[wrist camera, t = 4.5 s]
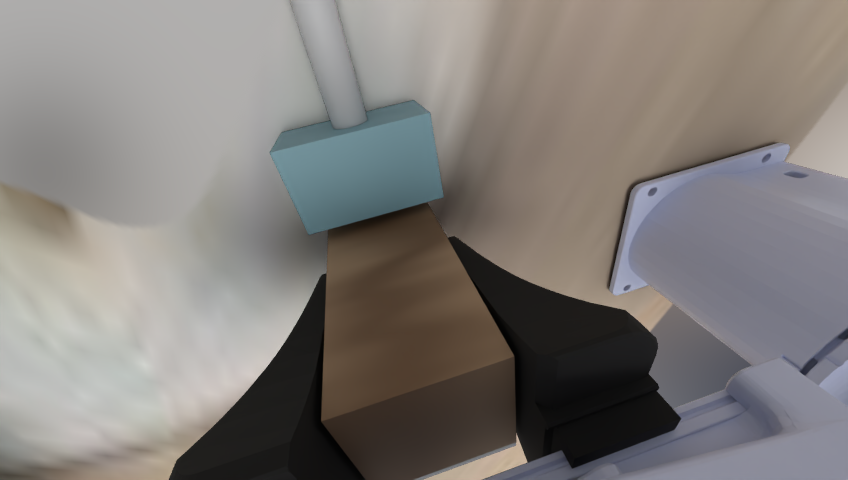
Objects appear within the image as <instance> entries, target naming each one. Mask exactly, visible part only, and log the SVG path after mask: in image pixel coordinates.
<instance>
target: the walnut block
mask: <svg viewBox="0 0 848 480" xmlns="http://www.w3.org/2000/svg"><path fill="white" fill-rule="evenodd" d="M321 422H322V423H323V425H324V426H325V427H326V429H327V430H328V431H329V432H330V434H331V435H332V436H333V438H334V439H335V440H336V442H337V443H338V444H339V445H340V447H341V448H342V449H343V451H344V452H345V453H346V455H347V456H348V457H349V459H350V460H351V461H352V462H353V464H354V465H355V466H356V468H357V469H358V470H359V472H360V473H361V474H362V476H363V477H364V478H365V479H366V480H414V479H417V478H420V477H422V476H425V475H428V474H431V473H433V472H436V471H439V470H442V469H444V468H447V467H450V466H453V465H455V464H458V463H461V462H464V461H466V460H469V459H472V458H474V457H477V456H480V455H483V454H485V453H488V452H491V451H494V450H496V449H499V448H502V447H505V446H507V445H510V444H513V443H516V403H515V358H514V355H513V353H512V351H511V349H510V348H509V346H508V344H507V342H506V341H505V339H504V337H503V335H502V334H501V332H500V330H499V328H498V327H497V325H496V323H495V321H494V319H493V318H492V316H491V314H490V312H489V311H488V309H487V307H486V305H485V304H484V302H483V300H482V298H481V297H480V295H479V293H478V291H477V289H476V288H475V286H474V284H473V282H472V281H471V279H470V277H469V275H468V274H467V272H466V270H465V268H464V267H463V265H462V263H461V261H460V259H459V258H458V256H457V254H456V252H455V251H454V249H453V247H452V245H451V244H450V242H449V240H448V238H447V237H446V235H445V233H444V231H443V229H442V228H441V226H440V224H439V222H438V221H437V219H436V217H435V215H434V214H433V212H432V210H431V208H430V207H429V205H428V203H427V202H426V203H422V204H418V205H415V206H411V207H408V208H404V209H400V210H397V211H393V212H390V213H386V214H382V215H379V216H375V217H372V218H368V219H364V220H361V221H357V222H354V223H350V224H346V225H343V226H339V227H336V228H332V229H328V251H327V277H326V304H325V331H324V358H323V385H322V412H321Z"/></svg>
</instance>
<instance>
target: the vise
mask: <svg viewBox="0 0 848 480" xmlns="http://www.w3.org/2000/svg"><path fill="white" fill-rule="evenodd" d="M290 3H291V6H292V9H293V12H294V15H295V18H296V21H297V24H298V27H299V30H300V33H301V36H302V39H303V41H304V44H305V47H306V50H307V53H308V56H309V59H310V62H311V65H312V68H313V71H314V74H315V77H316V80H317V83H318V86H319V89H320V92H321V94H322V97H323V100H324V103H325V106H326V109H327V112H328V115H329V118H330V121H326V122H322V123H318V124H314V125H310V126H306V127H302V128H298V129H294V130H290V131H286V132H282V133H281V134H280V136H279V138H278V139H277V141H276V143H275V145H274V146H273V148H272V150H271V151H270V155H271V157H272V159H273V161H274V163H275V165H276V167H277V169H278V171H279V174H280V176H281V178H282V180H283V182H284V184H285V186H286V188H287V190H288V192H289V195H290V197H291V199H292V201H293V203H294V205H295V207H296V209H297V211H298V214H299V216H300V218H301V220H302V222H303V224H304V226H305V228H306V230H307V232H308V235H310V234H314V233H318V232H321V231H325V230H328V229H332V228H336V227H339V226H343V225H346V224H350V223H354V222H357V221H361V220H364V219H368V218H372V217H375V216H379V215H382V214H386V213H390V212H393V211H397V210H400V209H404V208H408V207H411V206H415V205H418V204H422V203H426V202H429V201H433V200H436V199H440V198H443V197H444V196H443V190H442V183H441V177H440V171H439V165H438V158H437V152H436V146H435V140H434V134H433V127H432V121H431V115H430V112H429V111H427V110H426V109H425V108H423V107H422V106H421V105H419V104H418V103H417V102H415V101H414V100H412V101H408V102H404V103H400V104H396V105H392V106H388V107H384V108H380V109H375V110H371V111H367V112H366V111H365V108H364V104H363V100H362V97H361V93H360V89H359V86H358V82H357V78H356V75H355V71H354V67H353V64H352V60H351V56H350V53H349V49H348V46H347V42H346V38H345V35H344V31H343V27H342V24H341V20H340V16H339V13H338V9H337V5H336V2H335V0H290Z"/></svg>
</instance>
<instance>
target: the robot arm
mask: <svg viewBox="0 0 848 480" xmlns="http://www.w3.org/2000/svg"><path fill="white" fill-rule="evenodd" d="M789 150H790V146H789V145H788V144H785V143H777V144H773V145H770V146H766V147H763V148H760V149H756V150H753V151H749V152H746V153H742V154H739V155H736V156H732V157H729V158H725V159H722V160H718V161H715V162H712V163H708V164H705V165H701V166H698V167H694V168H691V169H688V170H684V171H681V172H677V173H674V174H670V175H667V176H664V177H660V178H657V179H653V180H650V181H646V182H643V183H640V184H638V185H636V186H635V187H634V188H633V189H632V191H631V194H630V198H629V203H628V207H627V212H626V216H625V221H624V225H623V230H622V234H621V239H620V243H619V248H618V252H617V257H616V261H615V266H614V270H613V275H612V279H611V284H610V288H609V291H610V292H611V293H612V294H613V295H620V294H623V293H626V292H629V291H632V290H635V289H638V288H642V287H645V286H648V285H650V286H651V287H653V288H654V289H655V290H656V291H658V292H659V293H660V294H661V295H663V296H664V297H665V298H667V299H668V300H669V301H670V302H672V303H673V304H674V305H676V306H677V307H678V308H680V309H681V310H682V311H683V312H685V313H686V314H687V315H688V316H690V317H691V318H692V319H694V320H695V321H696V322H697V323H699V324H700V325H701V326H703V327H704V328H705V329H707V330H708V331H709V332H710V333H712V334H713V335H714V336H715V337H717V338H718V339H719V340H721V341H722V342H723V343H724V344H726V345H727V346H728V347H730V348H731V349H732V350H733V351H735V352H736V353H737V354H739V355H740V356H741V357H742V358H744V359H745V360H746V361H748V362H749V363H750V364H751V365H753V366H750V367H748V368H745V369H743V370H741V371H739V372H737V373H736V374H735V375H733V376H732V377H731V378H730V380H729V381H728V383H727V385H726V388H725V389H724V390H721V391H719V392H716V393H713V394H711V395H708V396H705V397H703V398H700V399H698V400H695V401H692V402H689V403H687V404H684V405H681V406H679V407H676V408H673V409H672V407H671V406H670V405H669V404H668V403H667V402H666V401H665V400H664V399H663V398H662V396H660V394H659V393H658V392H657V390H658V389H659V386H658V384H657V383H656V382H655V380H654V379H653V378H652V377H651V376H650V375H649V371H650V368H651V366H652V364H653V361H654V359H655V356H656V353H657V349H658V343H657V339H656V337H654V336H653V335H652V334H651V333H650V332H649V331H648V330H647V329H646V328H645V327H644V326H643V325H642V324H641V323H640V322H639V321H638V320H637V319H635V318H634V317H633V316H632V315H630V314H629V313H628V312H627V311H626V310H622V309H617V308H612V307H608V306H603V305H599V304H594V303H590V302H586V301H582V300H579V299H575V298H572V297H568V296H565V295H562V294H559V293H556V292H553V291H550V290H548V289H545V288H542V287H540V286H537V285H535V284H532V283H530V282H528V281H526V280H523V279H521V278H519V277H517V276H515V275H513V274H511V273H509V272H507V271H506V270H504V269H502V268H500V267H498V266H497V265H495V264H494V263H492V262H490V261H489V260H487V259H486V258H484V257H483V256H481V255H480V254H478V253H477V252H475V251H474V250H473V249H471V248H470V247H468V246H467V245H466V244H464V243H463V242H462V241H461V240H459V239H458V238H456V237H455V236H453V237H449V238H448V240H449V242H450V244H451V245H452V247H453V249H454V251H455V252H456V254H457V256H458V258H459V259H460V261H461V263H462V265H463V267H464V268H465V270H466V272H467V274H468V275H469V277H470V279H471V281H472V282H473V284H474V286H475V288H476V289H477V291H478V293H479V295H480V297H481V298H482V300H483V302H484V304H485V305H486V307H487V309H488V311H489V312H490V314H491V316H492V318H493V319H494V321H495V323H496V325H497V327H498V328H499V330H500V332H501V334H502V335H503V337H504V339H505V341H506V342H507V344H508V346H509V348H510V349H511V351H512V353H513V355H514V358H515V403H516V433H517V436H518V438H519V441H520V443H521V446H522V449H523V451H524V454H525V456H526V459H527V462H528V463H526V464H523V465H520V466H517V467H515V468H512V469H509V470H507V471H504V472H501V473H499V474H496V475H493V476H491V477H488V478H485V479H483V480H848V179H847V178H843V177H839V176H836V175H832V174H828V173H824V172H821V171H817V170H813V169H810V168H806V167H802V166H798V165H795V164H791V163H787V162H784V160H785V158H786V156H787V154H788V152H789ZM326 277H327V273H326V274H322V275H321V277H320V279H319V281H318V283H317V285H316V287H315V289H314V291H313V293H312V295H311V297H310V299H309V301H308V303H307V305H306V307H305V309H304V311H303V313H302V314H301V316H300V318H299V320H298V322H297V323H296V325H295V327H294V328H293V330H292V332H291V333H290V335H289V337H288V338H287V340H286V341H285V343H284V344H283V346H282V347H281V349H280V350H279V352H278V353H277V354H276V356H275V357H274V358H273V360H272V361H271V363H270V364H269V365H268V366H267V368H266V369H265V370H264V371H263V373H262V374H261V375H260V376H259V377H258V379H257V380H256V381H255V382H254V383H253V385H252V386H251V387H250V388H249V389H248V391H247V392H246V393H245V394H244V395H243V396H242V397H241V398H240V399H239V400H238V401H237V403H236V404H235V405H234V406H233V407H232V408H231V409H230V410H229V411H228V412H227V413H226V414H225V415H224V416H223V417H222V418H221V419H220V420H219V421H218V422H217V423H216V424H215V425H214V426H213V427H212V428H211V429H210V430H209V431H208V432H207V433H206V434H205V435H204V436H203V437H201V438H200V439H199V440H198V441H197V442H196V443H195V444H194V445H193V446H192V447H191V448H190V449H189V450H188V451H186V452H185V453H184V454H183V455H182V456H181V457H180V458H179V459H178V460H177V461H176V463H175V466H174V468H173V470H172V473H171V475H170V478H169V480H366V479H365V478H364V477H363V476H362V474H361V473H360V472H359V470H358V469H357V468H356V466H355V465H354V464H353V462H352V461H351V460H350V459H349V457H348V456H347V455H346V453H345V452H344V451H343V449H342V448H341V447H340V445H339V444H338V443H337V442H336V440H335V439H334V438H333V436H332V435H331V434H330V432H329V431H328V430H327V429H326V427H325V426H324V425H323V423H322V422H321V412H322V385H323V358H324V331H325V304H326Z"/></svg>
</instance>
